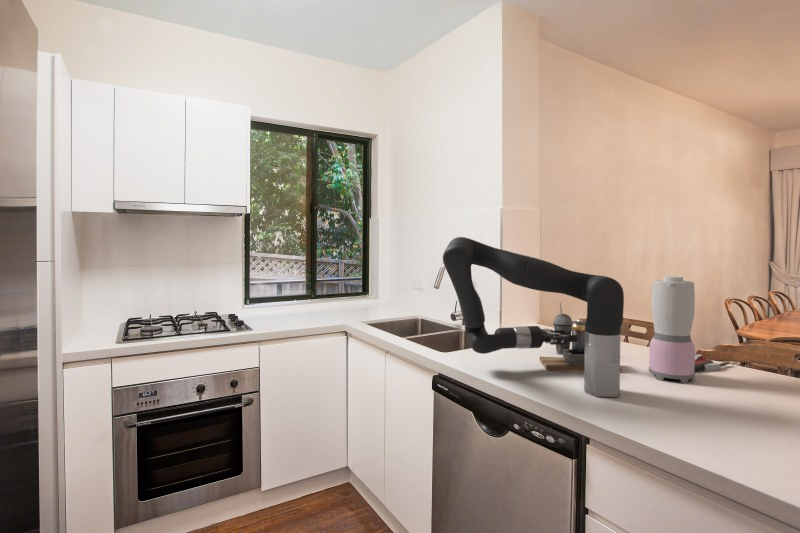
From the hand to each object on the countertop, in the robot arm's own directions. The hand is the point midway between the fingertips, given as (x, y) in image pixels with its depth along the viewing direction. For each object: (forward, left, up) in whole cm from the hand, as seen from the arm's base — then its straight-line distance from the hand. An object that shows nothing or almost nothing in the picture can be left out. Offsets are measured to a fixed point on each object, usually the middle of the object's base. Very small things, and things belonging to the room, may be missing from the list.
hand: (570, 335), depth 145 cm
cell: (+1, -3, -9) cm, 10 cm away
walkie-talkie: (+4, -45, -12) cm, 46 cm away
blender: (-7, -29, -11) cm, 32 cm away
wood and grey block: (+1, -3, -11) cm, 11 cm away
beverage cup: (+19, -2, -11) cm, 22 cm away
